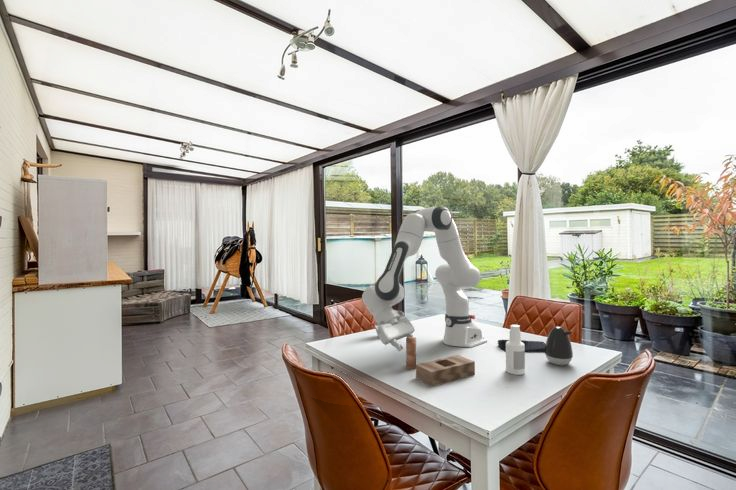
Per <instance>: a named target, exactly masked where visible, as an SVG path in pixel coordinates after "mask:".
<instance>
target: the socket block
mask: <svg viewBox="0 0 736 490" xmlns="http://www.w3.org/2000/svg"><path fill="white" fill-rule="evenodd" d="M475 366H476V362H475V361H474V360H471V359H470V358H467V357H465V356H462V355H459V354H457V355H451V356H447V357H442V358H439V359H434V360H430V361H429V360H428V361H425V362H420V363H416V369H415V378H416V379H418V380H419V381H421V382H423V383H425V384H427V385H428V386H430V387H434V386H439V385H442V384H446V383H449V382H453V381H456V380H460V379H465V378H468V377H471V376H475V375H476V374H475V373H476V371H475V369H476V367H475Z"/></svg>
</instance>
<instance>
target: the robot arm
mask: <svg viewBox="0 0 736 490" xmlns="http://www.w3.org/2000/svg"><path fill="white" fill-rule="evenodd" d="M452 215H453V214H452V212H451V211H450V210H449V208H448V207H445V206H430V207H426V208H425V207H424V208H422V209H417V210H414V211H413V212H412V213H411V212H410V213H407V215H406V216H405V217H404V219H403V221H402V223H401V225H400V228H399V230H398V233H397V236H396V241H395V243H394V245H393V249H392V251H391V253H390V255H389V258H388V260H387V263H386V265H385V268H384V270H383V272H382V274H381V275H380V276H379V278H378V279H377V280H376V282H375V285H369V286H368V287H366V288H365V290H363V292H362V295H361V300H362V301H363V304H364V306H365V308H367V310H368V312H369V313H370V314H371V315H372V316H373V318H374V320H375V322H376V323H375V324H374V329H375V331H376V335H377V337H378V339H379V340H380V341H381V343H382V344H383V345H385V346H387V345H389V344H390V345H391V346H393V347H394V348H395V349H396V350H397V351H398V352H401V351H402V350H403V349H404V347H403V346H402V344H399V343H398V342H397V341H399V340H401V339H404V338H407V337H414V335H413V333H414V332H416V331H415V330H416V329H415V326H414V325H413V323H412V322H411V321H410V320H409V318H408V317H406V316H405V315H406V313H404V311H401V310H397V309H394V308H393V307H394V306H395V305H397V304H399V303H400V302H402V301H403V300H404V299H405V295H406V290H405V288H404V286H403V284H401V283H400V276H401V272H402V270H403V266H404V264H405V261H406V260H407V259H408V258H409V257H412V256H415V255H416V254H417V253H418V251H419V250H420V247H421V244H422V241H423V237H424V233H425V232H434V234H435V240H436V243H437V247H438V252H439V255H440V258H442V260H444V261H445V262H446V263H445V264H440V265H439V266H437V268H436V270H435V273H434V274H435V279H436V281H437V282H438V283H439V284H440V286H441V288H442V291H443V294H444V298H445V314H444V321H445V327H444V333H443V339H442V343H444V344H445V345H448V346H452V347H463V348H464V347H465V348H473V347H476V346H477V347H478V346H479V345H482V344H485V343H487V342H488V339H487V338H485V337H483V332H482V329H481V328H480V327H479V326H478V325H476V324H475V323H474V322H473V321H472V320H475V319H476V315H474V314H470V310H469V309H470V306H469V305H470V303H469V301H470V300H469V297H468V296H467V295H466V294H465V292H464V290H462V288H463V289H470V288H475V287H477V286H478V285H479V284H480V282H481V277H482V276H481V272H480V270H479V269H478V267H476V266H474V265H473V263H471V262H470V260H469V259H468V257H467V255H466V254H465V251H464V248H463V245H462V242H461V238H460V234H459V231H458V227H457V225H456V222H455V221H454V219H453V216H452Z"/></svg>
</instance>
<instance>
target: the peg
mask: <svg viewBox="0 0 736 490" xmlns="http://www.w3.org/2000/svg"><path fill="white" fill-rule="evenodd" d="M405 353H406V354H405V356H406V357H405V360H406V361H405V362H406V363H405V364H406V367H405V368H406V369H407V370H410V371H411V370H416V364H417V337H415V336H413V337H405Z"/></svg>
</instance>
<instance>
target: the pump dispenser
mask: <svg viewBox="0 0 736 490" xmlns="http://www.w3.org/2000/svg"><path fill="white" fill-rule="evenodd" d="M572 334H573V332H572V331H571V330H567V331H566V330H565V328H563V326H554V327H553V328H552V329H551V330H550V331H549V333H548V334H547V338H546V340H545V344H546V345H545V351H544V354H545V357H546V359H547V361H548V362H549V363H551V364H553V365H554V366H566V365H568V364H570V363H571V361H572V358H573V356H574V353H573V347H572V346H573V345H572V341H571V339H570V337H569V335H572Z"/></svg>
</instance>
